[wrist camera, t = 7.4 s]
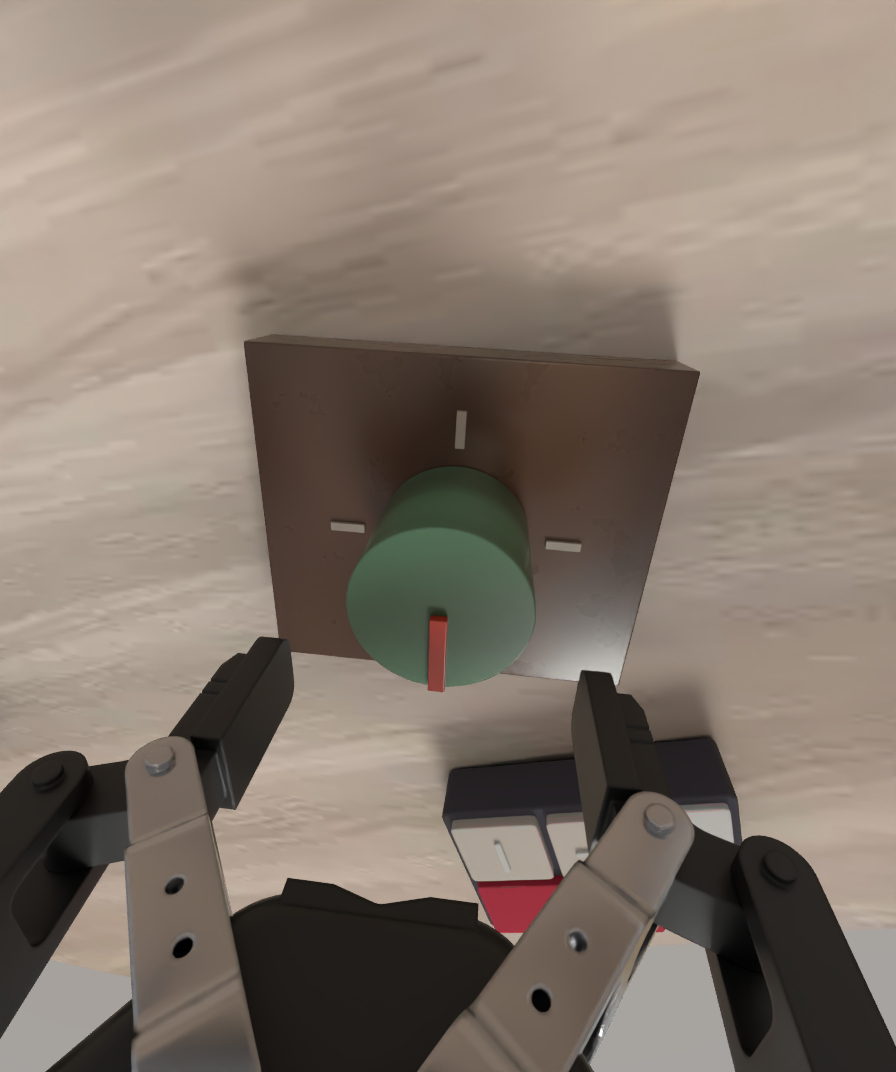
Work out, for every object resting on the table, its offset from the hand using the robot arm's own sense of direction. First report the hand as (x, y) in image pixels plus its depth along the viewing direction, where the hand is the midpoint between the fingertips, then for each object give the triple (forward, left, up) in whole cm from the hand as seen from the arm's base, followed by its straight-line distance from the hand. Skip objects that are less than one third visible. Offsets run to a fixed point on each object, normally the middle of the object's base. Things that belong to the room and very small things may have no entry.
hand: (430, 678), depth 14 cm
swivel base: (0, 0, -11) cm, 11 cm away
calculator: (-20, +5, -11) cm, 24 cm away
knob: (0, 0, -8) cm, 8 cm away
